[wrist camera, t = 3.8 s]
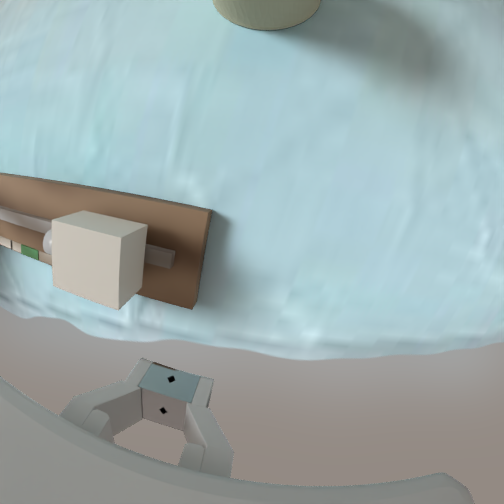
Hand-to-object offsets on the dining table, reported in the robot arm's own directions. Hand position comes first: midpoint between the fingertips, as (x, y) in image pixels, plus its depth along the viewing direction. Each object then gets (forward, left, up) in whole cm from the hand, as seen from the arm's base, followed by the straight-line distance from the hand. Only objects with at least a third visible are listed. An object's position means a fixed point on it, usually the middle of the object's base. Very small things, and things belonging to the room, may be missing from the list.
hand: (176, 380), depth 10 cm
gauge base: (0, -20, -13) cm, 24 cm away
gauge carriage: (0, -10, -11) cm, 15 cm away
